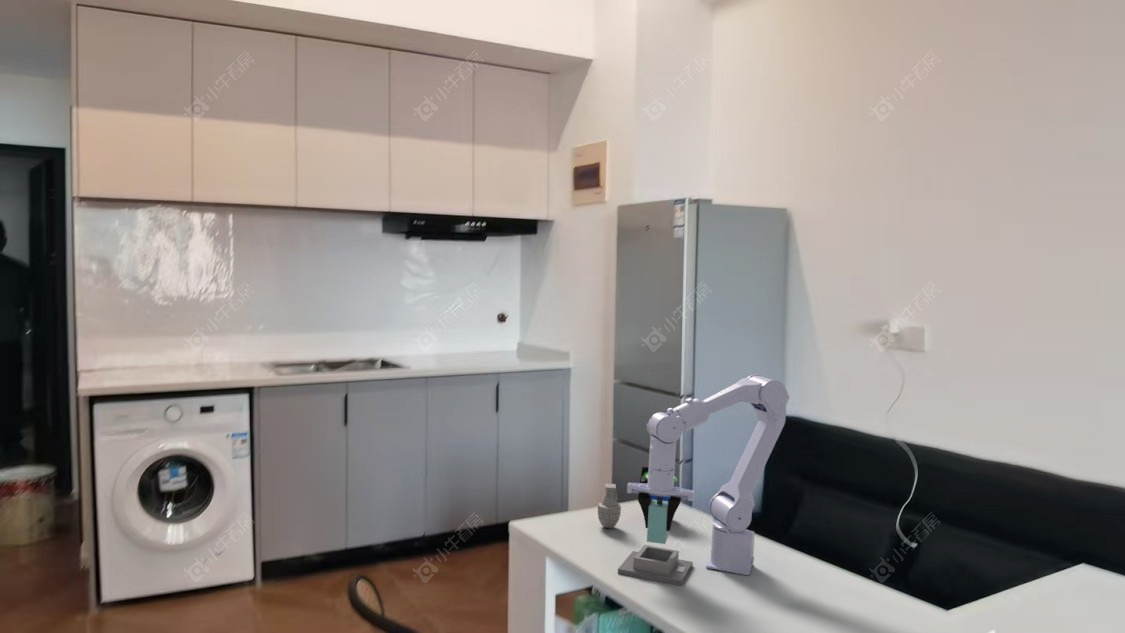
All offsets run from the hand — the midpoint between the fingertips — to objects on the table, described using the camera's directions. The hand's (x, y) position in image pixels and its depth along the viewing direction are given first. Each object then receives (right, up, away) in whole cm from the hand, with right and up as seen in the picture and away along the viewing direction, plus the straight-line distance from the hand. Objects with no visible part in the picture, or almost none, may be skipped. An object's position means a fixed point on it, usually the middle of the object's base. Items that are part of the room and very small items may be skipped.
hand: (658, 528), depth 171 cm
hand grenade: (-9, -7, +28) cm, 30 cm away
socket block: (0, -9, +1) cm, 9 cm away
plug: (0, -2, 0) cm, 2 cm away
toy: (+4, -8, +36) cm, 37 cm away
